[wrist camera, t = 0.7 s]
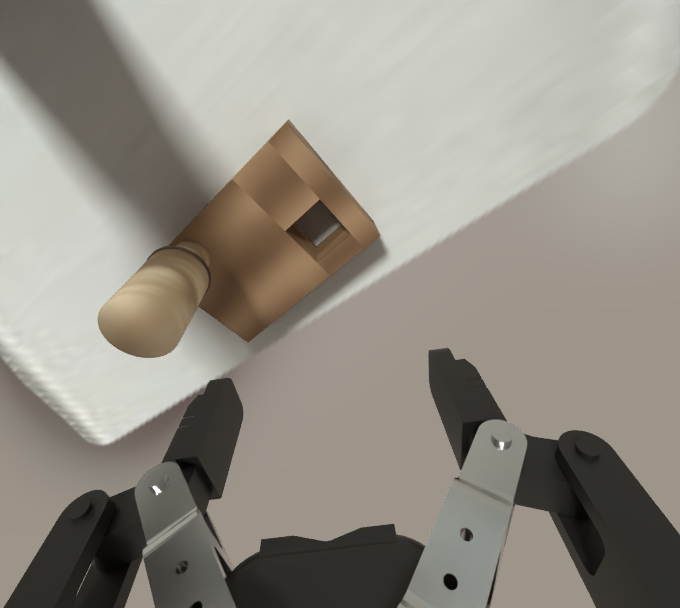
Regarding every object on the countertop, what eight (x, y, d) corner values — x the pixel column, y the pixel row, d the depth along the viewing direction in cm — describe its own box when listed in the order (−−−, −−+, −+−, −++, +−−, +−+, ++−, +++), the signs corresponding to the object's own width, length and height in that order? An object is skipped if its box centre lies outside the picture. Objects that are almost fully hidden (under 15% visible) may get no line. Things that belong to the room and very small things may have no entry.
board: (163, 251, 34) (147, 268, 31) (288, 119, 28) (285, 123, 25) (253, 320, 39) (248, 342, 36) (373, 221, 34) (380, 235, 30)
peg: (151, 254, 30) (79, 328, 21) (185, 218, 28) (124, 279, 19) (198, 290, 32) (152, 370, 23) (232, 258, 31) (198, 330, 21)
